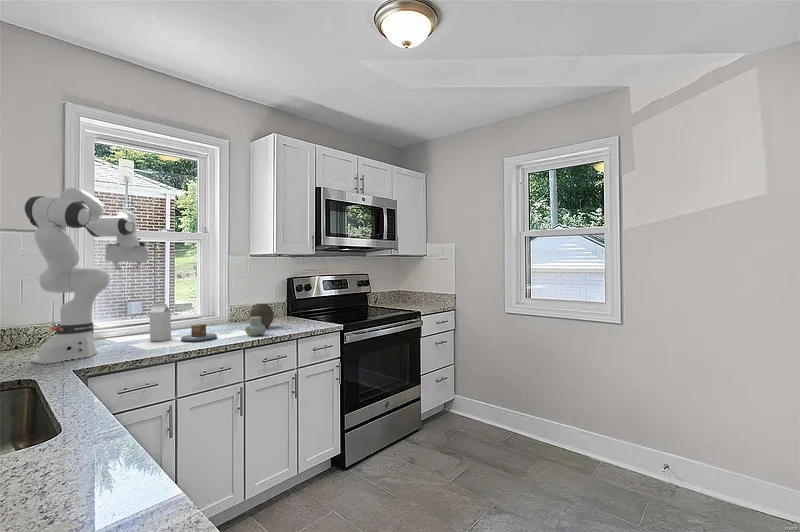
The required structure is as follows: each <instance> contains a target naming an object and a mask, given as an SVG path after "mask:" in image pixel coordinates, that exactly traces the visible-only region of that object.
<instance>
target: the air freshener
mask: <svg viewBox="0 0 800 532" xmlns="http://www.w3.org/2000/svg"><path fill="white" fill-rule="evenodd" d="M266 331H267V328H266V327H265V326H264V325H262V324H261V317H250V316H249V325H247V326H246V327H245V334H247V335H248V336H250V337H258V336H257V335H260V336H262V335H264V334H265V333H266Z"/></svg>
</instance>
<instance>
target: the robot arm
mask: <svg viewBox="0 0 800 532" xmlns="http://www.w3.org/2000/svg"><path fill="white" fill-rule="evenodd" d="M24 212H25V215H26V218H28V220H29V222H30V224H31V225H32V226H34V227H36V229H35V231H34V234H33V235H34V239H35V243H36V245H37V247H38V249H39V252H40V254H41V255H42V257H43V259H44V260H45V262H46V264H47V268H46V269H45V270H43V272H42V273H41V274H40V275H39V281H38V283H39V286H40V287H41V289H42V290H44V292H49V293H57V294H63V293H65V294H66V293H67V294H69V293H74V296H73V298H72V299H70V300H68V301H66V302H65V303H64V304H63V305H61V307H60V311H59V312H60V313H59V314H60V324H59V326H52V327H51V332H55V334H54V335H53V336H52V337H50V338H49V339H47V341H46V342H44V343H42V344H41V345H40V346H39V350H38V355H37V357H33V358H31V362H32V363H33V364H41V365H42V364H43V365H44V364H46V365H47V364H53V363H60V362H61V361H62V362H66V361H65V360H68V361H72V360H71V359H74V360H79V359H78V358H80V359H85V358H84V357H86V358H90V357H93V356H94V355H96V354H98V351H97V348H96V345H95V339H94V322H93V305H94V302H95V300H96V298H97V296H98V295H99V294H101V292H103V291H104V290H105V289H107V288H108V286H109V284H110V281H111V280H110V275H109V273H108V271H106V270H105V269H104V268H100V267H99V268H98V267H92V266H91V267H90V266H89V267H76V266H77V265H78V263H79V262H80V254H79V251H78V250H77V248H76V247H75V244H74V243H73V242H74V241H73V240H72V239H71V237H70V236H69V235H68V233H67V230H66V228H71V229H81V228H85V229H86V230H87V232H88V233H89V234H90V235H91V236H92V237H95V238H99V237H116V242H108V243H106V244H105V253H104V259H105V262H112V264H113V265H114V267H115V271H121V270H122V268H121V266H119V262H135V263H136V264H135V266H134V270H135V271H138V270H140V266H141V264H142V262H147V261H148V260H149V250H148V248H147V246H148V243H147V242H144V241H141V240H138V237H137V219H136V215H135V214H134V213H133V212H131V211H125V210H121V211H118V212H117V214H116V215H115V216H103V214H104V206H103V203H102V202H101V201H100V200H99V199H98V198H97V197H95V196H94V195H92V194H90V193H89V192H87V191H84V190H83V189H80V188H77V187H69V188H66V189H64V190H63V191H61V193H60V195H59V198H58V197H50V196H48V197H46V196H43V195H37V196H31V197H30V198H29V199H27V200H26V202H25V203H24Z"/></svg>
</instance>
